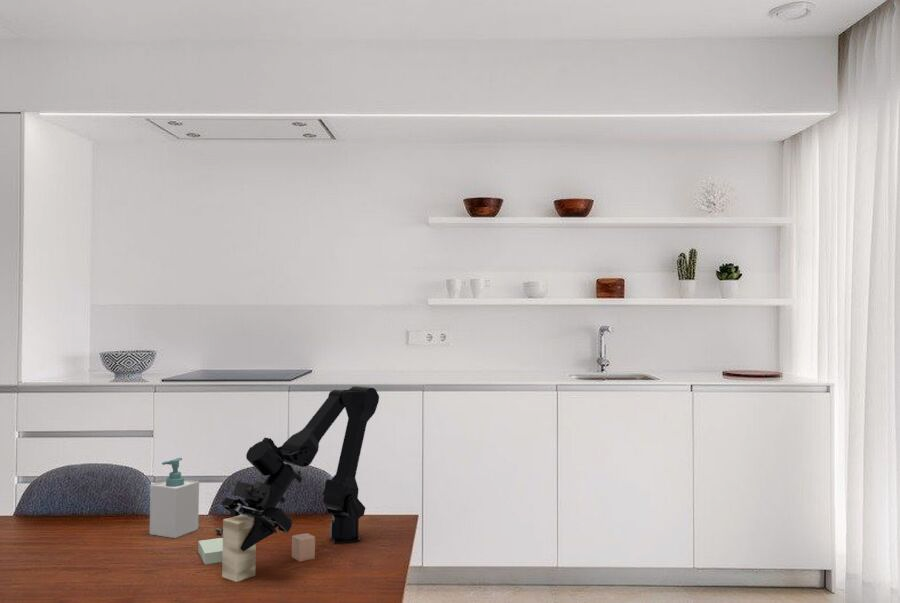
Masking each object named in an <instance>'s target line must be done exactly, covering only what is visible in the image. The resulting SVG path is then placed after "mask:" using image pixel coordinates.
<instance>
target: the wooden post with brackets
mask: <svg viewBox="0 0 900 603" xmlns="http://www.w3.org/2000/svg"><path fill="white" fill-rule="evenodd" d="M215 532H216V534H217V535H220V534H221V535H220V536H223V525H222V526H221V527H217V528H215ZM218 533H219V534H218Z"/></svg>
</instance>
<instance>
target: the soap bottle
mask: <svg viewBox="0 0 900 603" xmlns="http://www.w3.org/2000/svg"><path fill="white" fill-rule="evenodd" d="M182 460H183V457H176V458H175V459H171V460H167V461H162V463H161V464H162V466H164V465H170V466H171V468H172V471H171V472H169V474H168V476H169V477H167V478H166V479H165V480H163V481H160V482H156V483H151V484H150V489H149V490H150V497H149V502H150V503H149V535H152V536H153V535H154V536H159V537H165V538H171V539H177V538H179V537H182V536H185V535H187V534H190V533H193V532H195V531H198V530H199V513H200V512H199V511H200V509H199V508H200V507H199V504H200V500H199V499H200V498H199V497H200V481H199V480H193V479H192V480H191V479H185V477H184V476H182V472H181V471H178V470H179V468H180V461H182Z"/></svg>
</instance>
